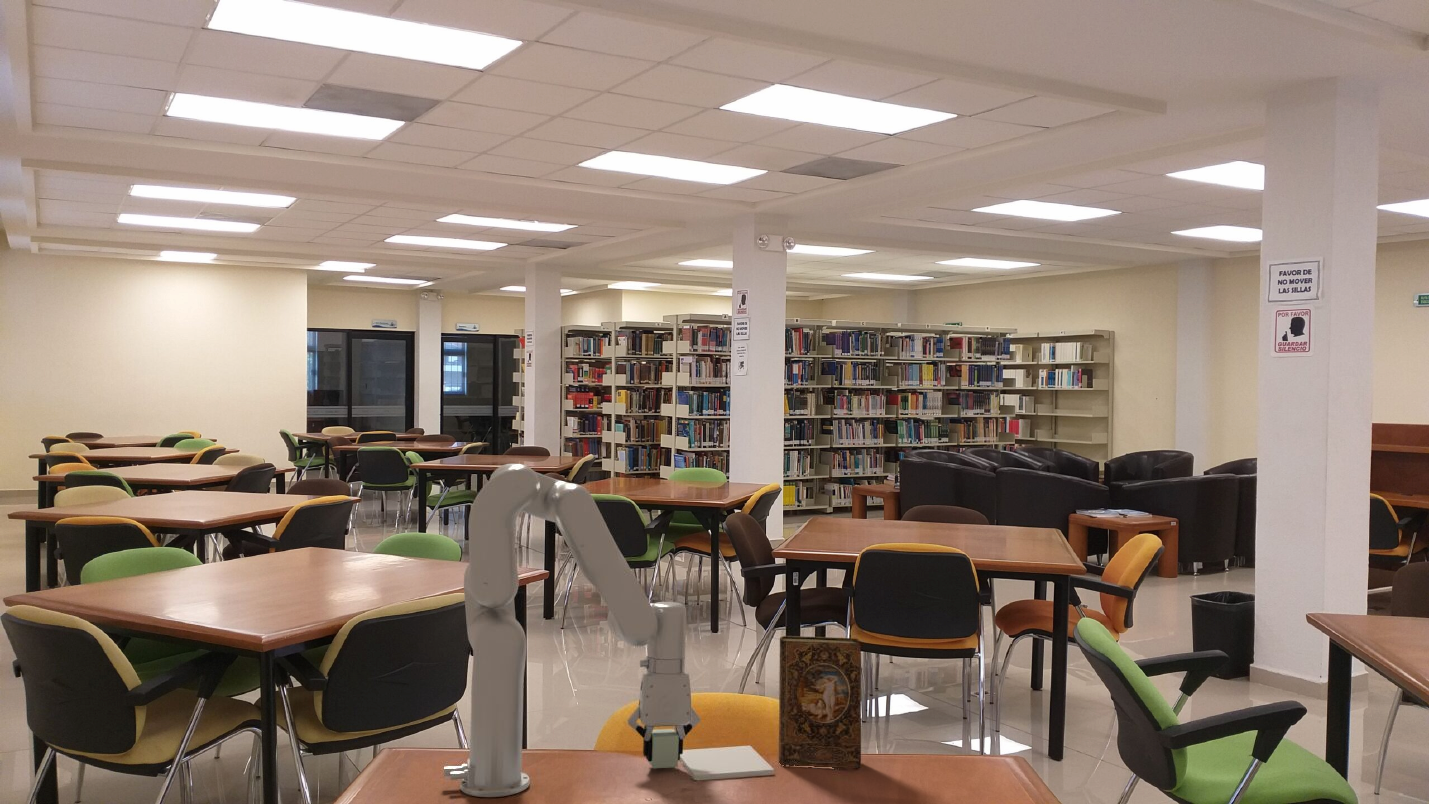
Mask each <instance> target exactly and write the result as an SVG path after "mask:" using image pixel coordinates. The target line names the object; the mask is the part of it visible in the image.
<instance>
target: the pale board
mask: <svg viewBox="0 0 1429 804" xmlns="http://www.w3.org/2000/svg"><path fill="white" fill-rule="evenodd" d="M680 759H681V761H682V762H683V764H684V765H685V767H686V768H685V767H684V768H685V770H686V769H687V770H688V771H687V770H686V771H687V773H688V772H689V773H690V774H689V773H688V774H689V775H690V777H691V776H692V777H691V778H692V779H693V780H697V781H707V780H709V781H710V780H721V779H734V778H735V779H736V778H746V777H747V778H748V777H749V778H750V777H757V776H758V777H760V776H774V775H775V769H774V768H773V767H772V766H771V765H770V764H769V763H768V762H767V761H766V760H765V758H763V757H762V756H761V755H760V754H759V753H758V752H757V751H756V750H755V749H754V748H753V747H752V746H751V745H740V746H739V745H738V746H727V747H726V746H725V747H710V748H708V747H707V748H696V749H683V754H680ZM683 764H682V765H683Z"/></svg>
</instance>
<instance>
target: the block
mask: <svg viewBox="0 0 1429 804" xmlns="http://www.w3.org/2000/svg"><path fill="white" fill-rule="evenodd" d="M651 740H652V761H650V762H648V763H649V765H650V766H651V768H652V769H662V768H666V769H667V768H678V766H679V760H678V744H679V735H678V734H677V733H676V729H675V728H663V729H662V728H661V729H660V728H658V729H653V731H652V734H651Z"/></svg>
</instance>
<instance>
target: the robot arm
mask: <svg viewBox="0 0 1429 804" xmlns="http://www.w3.org/2000/svg"><path fill="white" fill-rule="evenodd" d="M521 512H522V513H524V514H527V515H530V516H533V517H536V518H540V519H542V520H545V521H548V522H552V523H555V525H556V526H557V528H558V530H559V531H560V533H561V536H562V537H563V539H564V542H565V543H566V546H567V547H568V549H569V552H570V553H571V555H572V557H573V559H574V561H575V563H576V565H577V567H578V570H580V572H581V573H582V575H583V577H584V578H585V579H586V580H587V581H588V582H589V584H590V585H592V586H593V588H594V589H596V592H597V593H598V594H599V595H600V597H601V598H602V600H603V601H604V603H605V604H606V607H607V609H608V610H609V611H608V614H607V625H608V628H609V630H610V631H611V633H612V634H613V635H615V636H616V637H617V638H619V639H620V640H622V641H623V642H625V643H626V644H627V645H630V646H633V647H644V646H647V655H646V658H645V659H640V661H639V667H640V668H644V669H646V670H645V671H643V673H642V677H641V683H640V689H639V696H638V705H637V707H636V708H635V710H634V711H633V712H632V713H631V715H630V716H629V718H627V720H626V722H627V725H628V726H630V727H631V728H632V729H633V730H635V731H636V732H637V734H639V735H640V737H642V738H643V744H642V745H643V746H642V749H643V750H642V754H643V756H644V757H645V759H646V760H647V762H648V763H649V762H650V761H652V740H651V734H652V731H653V730H654V727H656V728H657V727H674V730H675V732H676V733H677V734H678V735H679V744H678V761H680V754H683V750H684V739H685V738H686V736H687V735H688V734H689V733H690V731H692V729H693V728H695V727H696V726H697V725H698V724H699V723H701V718H700V717H699V715H698V714H697V713H696V711H695V710H694V708H693V707H692V691H691V689H692V688H691V682H690V681H691V679H690V674H689V672H687V671H686V641H687V640H686V639H687V637H686V635H687V608H686V606H685V605H684V604H682V603H680V602H677V601H658V602H650V601H649V599H648V597H647V594H646V592H645V590H644V589H643V587H642V586H641V584H640V581H639V580H638V578H637V577H636V575H635V573H634V572H633V571H632V569H631V567H630V565H629V564H628V562H627V560H626V558H625V557H624V555H623V554H622V552H621V550H620V549H619V546H618V545H617V543H616V541H615V540H614V537H613V535H612V534H611V532H610V529H609V528H608V526H607V523H606V521H605V520H604V517H603V516H602V513H601V512H600V509H599V508H598V505H597V504H596V501H595V500H594V498H593V496H592V494H591V493H590V492H589V490H588V489H587V488H586V487H584V486H583V485H581V484H578V483H572V482H566V481H563V480H560V479H557V478H553V477H551V476H548V475H545V474H542V473H539V472H536V471H534V470H533V468H531V467H529V466H527V465H526V464H523V463H506V464H503V465H500V466H499V467H497V468H496V469H495V470H494V471H493V472H492V473H491V476H490V478H489V481H487V482H486V483H485V484H484V485H483V487H482V488H481V489H480V490H479V492H478V493H477V495H476V497H475V499H474V500H473V502H472V506H471V509H470V511H469V516H468V555H469V563H468V564H467V566H466V568H465V571H464V574H463V575H464V577H463V591H464V595H463V596H464V605H465V619H466V620H465V621H466V630H467V631H466V633H467V638H468V642H469V644H470V646H471V649H472V654H473V657H472V673H471V689H470V690H471V691H470V729H469V730H470V732H469V733H470V734H469V736H470V737H469V758H467V763H462V764H461V765H459V766H454V765H449V766H448V765H447V766H444V768H443V769H444V770H443V777H444V778H450V781H455V780H457V781H458V780H460V784H459V786H460V787H459V788H460V790H461V792H463V793H464V794H465V795H469V796H473V797H479V798H498V797H499V798H500V797H507V796H510V795H514V794H515V795H516V794H519V793H521V792H523V791H524V790H526V789H527V788H528V787H529V786H530V781H531V780H530V779H531V778H530V776H529V775H528V774H527V773H525V772H522V765H523V764H522V763H523V761H522V759H523V725H524V724H523V720H524V719H523V717H524V685H525V684H524V683H525V681H524V678H525V668H526V661H527V659H526V658H527V651H528V650H527V647H528V646H527V638H526V633H525V630H524V628H523V627H522V625H521V623H520V622H519V621H518V620H517V618H516V609H515V607H516V606H515V597H516V595H517V593H518V589H519V587H520V586H519V582H520V578H519V573H518V564H517V563H518V562H517V556H516V555H517V553H516V536H515V535H516V534H515V531H516V522H517V518H518V516H519V515H520V513H521ZM638 720H640V723H641V724H642V725H643V726H642V725H641V724H639V723H638Z"/></svg>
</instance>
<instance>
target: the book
mask: <svg viewBox="0 0 1429 804" xmlns="http://www.w3.org/2000/svg"><path fill="white" fill-rule="evenodd" d="M861 648H862V647H861V645H860V640H859V638H857V637H832V636H830V637H828V636H800V635H799V636H798V635H794V636H793V635H785V636H780V637H779V673H778V674H779V676H778V677H779V679H778V680H779V681H778V682H779V685H778V687H779V688H778V689H779V690H778V692H779V693H778V697H779V698H778V703H779V704H778V705H779V706H778V707H779V708H778V764H779V763H780V764H781V765H784V766H786V765H789V766H794V765H795V766H814V767H832V768H834V769H833V770H839V769H847V771H849V770H850V771H851V770H854V771H855V770H859V769H860V767H861V762H862V657H861V656H862V649H861Z"/></svg>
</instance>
